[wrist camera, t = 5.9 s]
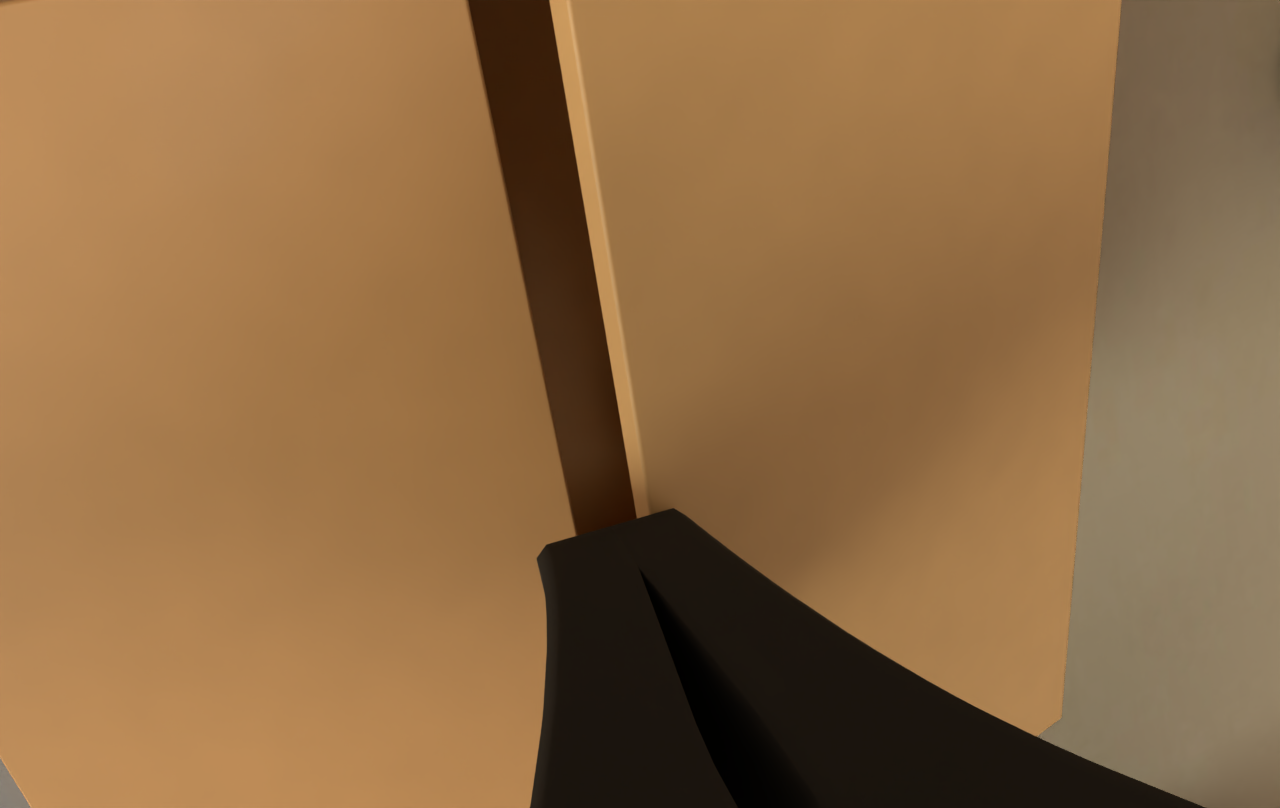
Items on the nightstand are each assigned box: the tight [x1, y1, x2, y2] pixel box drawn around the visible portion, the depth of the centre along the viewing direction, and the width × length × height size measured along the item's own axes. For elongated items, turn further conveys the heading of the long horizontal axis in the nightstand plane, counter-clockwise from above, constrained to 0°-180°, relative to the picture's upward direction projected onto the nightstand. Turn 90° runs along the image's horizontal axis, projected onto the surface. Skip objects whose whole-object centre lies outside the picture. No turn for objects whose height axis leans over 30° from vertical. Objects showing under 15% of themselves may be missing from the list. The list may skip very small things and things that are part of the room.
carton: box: [0, 0, 637, 808], centre depth 15 cm, size 13×12×8 cm
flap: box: [549, 0, 1122, 737], centre depth 11 cm, size 6×12×1 cm, turn 6°
